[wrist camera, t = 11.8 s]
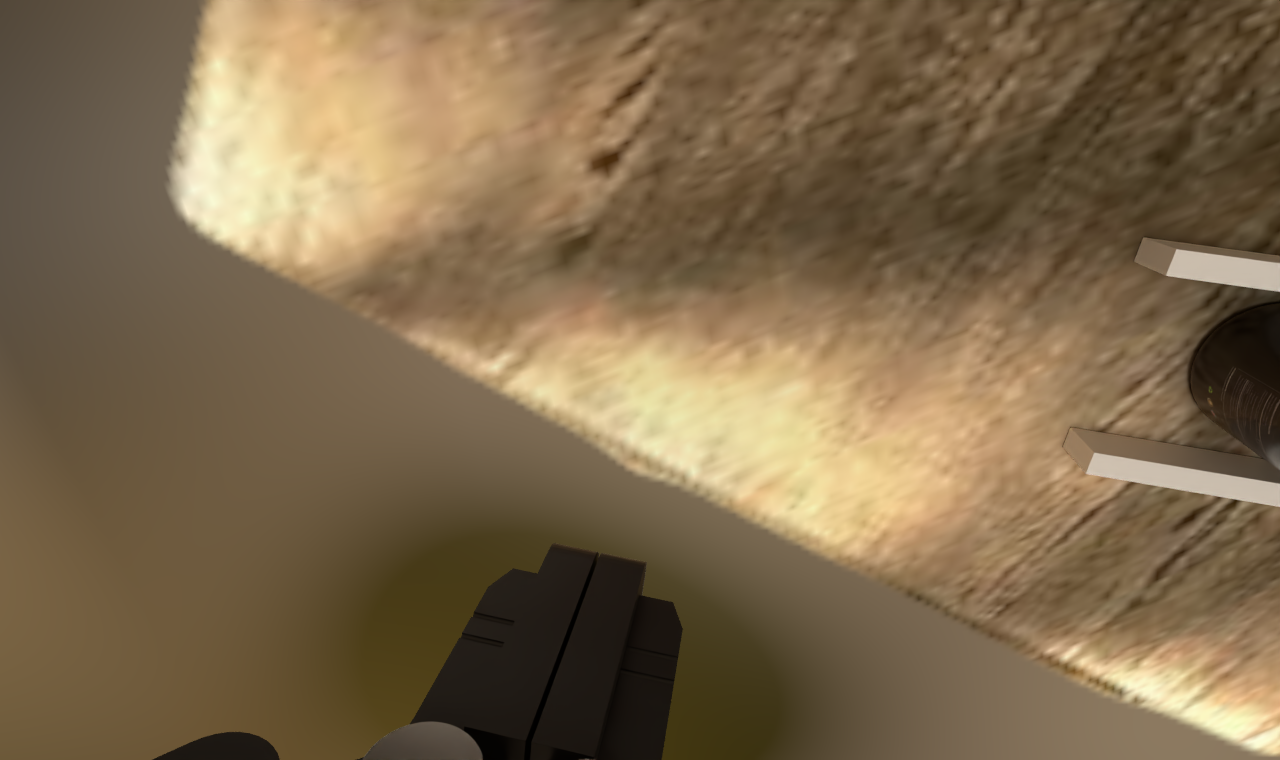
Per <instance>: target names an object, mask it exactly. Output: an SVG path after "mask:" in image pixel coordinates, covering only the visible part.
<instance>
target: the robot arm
mask: <svg viewBox="0 0 1280 760" xmlns="http://www.w3.org/2000/svg"><path fill="white" fill-rule="evenodd" d="M645 572H646V562H643V561H638V560H634V559H629V558H624V557H619V556H614V555H609V554H605V553H601V555H600V557H599V553H598V552H594V551H589V550H585V549H580V548H575V547H570V546H565V545H560V544H556V543H554V544H552V546H551V547H550V549H549V551H548V553H547V555H546V557H545V559H544V561H543V564H542V566H541V568H540V570H539V572H538V574H536V573H531V572H527V571H522V570H518V569H512V570H511V571H509V572H508V573H507V574H505V575H504V576H502V577H501V578H500V579H498V580H497V581H496V582H494V583H493V584H492V585H491V586H489V587H488V589H487V590H486V592H485V594H484V595H483V597H482V599H481V601H480V603H479V604H478V606H477V608H476V610H475V611H474V615H473V617H471V618H470V620H469V622H468V624H467V625H466V627H465V629H464V631H463V632H462V637H461V638H459V639H458V641H457V643H456V645H455V647H454V648H453V650H452V652H451V654H450V655H449V657H448V659H447V661H446V662H445V664H444V666H443V668H442V669H441V671H440V673H439V675H438V676H437V678H436V680H435V682H434V683H433V685H432V687H431V689H430V691H429V692H428V694H427V696H426V698H425V699H424V701H423V703H422V705H421V707H420V708H419V710H418V712H417V713H416V715H415V717H414V719H413V720H412V722H411V723H410V724H409V725H407V726H404V727H401V728H399V729H397V730H395V731H393V732H391V733H389V734H388V735H386V736H385V737H383V738H382V739H380V740H379V741H378V742H377V743H376V744H375V745H374V746H373V747H372V748H371V749H370V750H369V751H368V753H367V754H366V755H365V756H364V757H363V758H360V759H357V760H661V758H662V753H663V747H664V741H665V734H666V728H667V722H668V716H669V710H670V704H671V698H672V691H673V685H674V678H675V673H676V666H677V660H678V654H679V648H680V642H681V635H682V626H681V623H680V621H679V618H678V615H677V612H676V609H675V607H674V604H673V602H668V601H664V600H660V599H655V598H650V597H645V596H642V591H643V585H644V578H645ZM153 760H279V756H278V753H277V752H276V750H275V749H274V747H273V746H272V745H271V744H270V743H269V742H268V741H267V740H265V739H263V738H261V737H259V736H256V735H253V734H250V733H242V732H226V733H220V734H214V735H211V736H207V737H203V738H201V739H198V740H196V741H193V742H190V743H188V744H186V745H184V746H181V747H179V748H177V749H175V750H173V751H171V752H168V753H166V754H164V755H162V756H159V757H157V758H155V759H153Z"/></svg>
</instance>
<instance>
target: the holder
mask: <svg viewBox="0 0 1280 760" xmlns="http://www.w3.org/2000/svg"><path fill="white" fill-rule="evenodd" d="M1134 262H1135V263H1138V264H1140V265H1142V266H1145V267H1147V268H1149V269H1151V270H1154V271H1156V272H1158V273H1161V274H1163V275H1165V276H1171V277H1178V278H1185V279H1192V280H1200V281H1207V282H1214V283H1221V284H1228V285H1235V286H1242V287H1249V288H1257V289H1264V290H1271V291H1278V292H1280V256H1278V255H1271V254H1263V253H1256V252H1248V251H1241V250H1234V249H1226V248H1219V247H1212V246H1204V245H1197V244H1189V243H1182V242H1175V241H1167V240H1160V239H1152V238H1145V237H1143V239H1142V242H1141V244H1140V247H1139V249H1138V252H1137V255H1136V257H1135V260H1134ZM1063 448H1064V449H1065V450H1066V451H1067V453H1068V454H1069V455H1070V456H1071V457H1072V458H1073V460H1074V461H1075V462H1076V463H1077V464H1078V465H1079V467H1080V468H1081V469H1082V470H1083V471H1084V472H1085V473H1086V474H1090V475H1096V476H1102V477H1108V478H1114V479H1119V480H1125V481H1131V482H1137V483H1143V484H1149V485H1155V486H1161V487H1166V488H1172V489H1178V490H1184V491H1190V492H1196V493H1202V494H1207V495H1213V496H1219V497H1225V498H1231V499H1237V500H1243V501H1249V502H1254V503H1260V504H1266V505H1272V506H1278V507H1280V470H1278V469H1277V468H1276V467H1274V466H1273V465H1272V464H1270V463H1269V462H1267V461H1266V460H1265V459H1261V458H1255V457H1249V456H1243V455H1237V454H1231V453H1225V452H1218V451H1212V450H1206V449H1200V448H1194V447H1188V446H1182V445H1176V444H1170V443H1164V442H1158V441H1151V440H1145V439H1139V438H1133V437H1127V436H1121V435H1115V434H1109V433H1103V432H1097V431H1091V430H1084V429H1078V428H1072V427H1070V429H1069V432H1068V434H1067V437H1066V440H1065V442H1064V445H1063Z"/></svg>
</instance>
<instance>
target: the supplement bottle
mask: <svg viewBox="0 0 1280 760" xmlns="http://www.w3.org/2000/svg"><path fill="white" fill-rule="evenodd" d="M1190 381H1191V390H1192V393H1193V397H1194V399H1195V401H1196V403H1197V405H1198V406H1199V408H1200V409H1201V410H1202V411H1203V413H1204V414H1205V415H1206V416H1207V417H1209V418H1210V419H1211V420H1212V421H1213V422H1215V423H1216V424H1217V425H1218V426H1220V427H1221V428H1222V429H1224V430H1225V431H1226V432H1228V433H1229V434H1231V435H1232V436H1233V437H1235V438H1236V439H1237V440H1239V441H1240V442H1241V443H1243V444H1244V445H1246V446H1247V447H1248V448H1250V449H1251V450H1252V451H1254V452H1255V453H1256V454H1258V455H1259V456H1261V457H1262V458H1263V459H1265V460H1266V461H1267V462H1269V463H1270V464H1272V465H1273V466H1274V467H1276V468H1277V469H1278V470H1280V304H1271V305H1266V306H1261V307H1258V308H1254V309H1252V310H1249V311H1246V312H1244V313H1242V314H1239V315H1237V316H1235V317H1234V318H1232V319H1230V320H1229V321H1227V322H1225V323H1224V324H1223V325H1221V326H1220V327H1219V328H1218V329H1216V330H1215V331H1214V332H1213V333H1212V334H1211V335H1210V336H1209V337H1208V338H1207V340H1206V341H1205V342H1204V343H1203V345H1202V346H1201V348H1200V349H1199V351H1198V353H1197V355H1196V357H1195V359H1194V362H1193V366H1192V370H1191V379H1190Z"/></svg>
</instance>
